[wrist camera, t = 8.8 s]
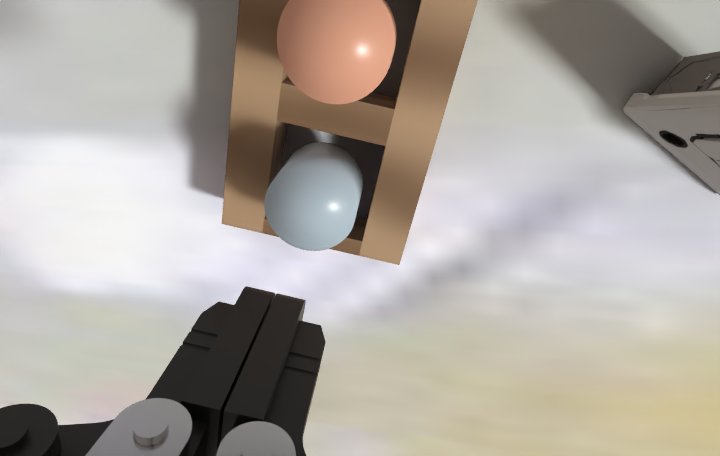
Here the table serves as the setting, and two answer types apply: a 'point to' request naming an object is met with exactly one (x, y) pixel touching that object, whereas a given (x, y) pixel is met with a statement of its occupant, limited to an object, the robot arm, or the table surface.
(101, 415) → the table surface
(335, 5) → the pink rounded piece
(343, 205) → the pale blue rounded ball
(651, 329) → the table surface
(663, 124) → the electrical switch
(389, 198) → the wooden egg rack
